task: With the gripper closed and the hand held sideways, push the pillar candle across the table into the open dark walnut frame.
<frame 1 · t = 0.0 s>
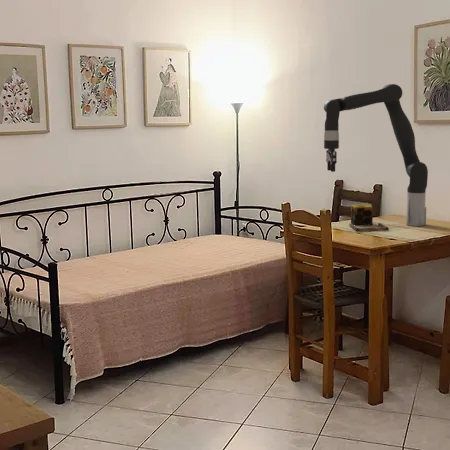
hand: (331, 171, 360), 29 cm above the table, tool pointing down, fingers open, 8 cm apart
walnut frame: (368, 228, 359), on the table
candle: (361, 224, 373), on the table
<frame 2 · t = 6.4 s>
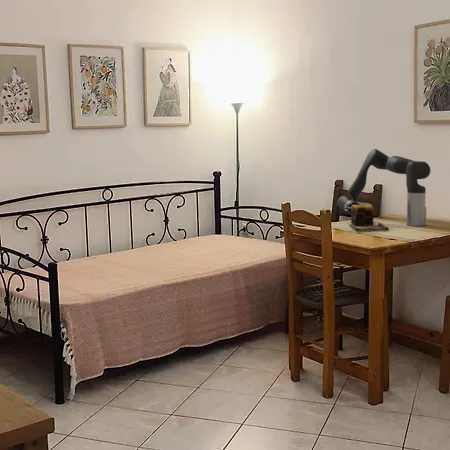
hand: (359, 211, 375), 6 cm above the table, tool horizontal, fingers closed
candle: (362, 224, 371), on the table
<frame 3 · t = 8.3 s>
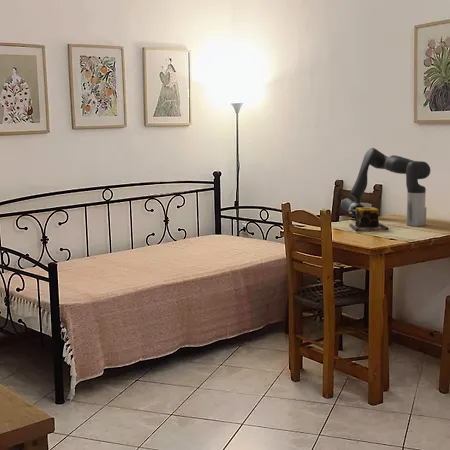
hand: (364, 214, 365), 6 cm above the table, tool horizontal, fingers closed
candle: (366, 228, 361), on the table
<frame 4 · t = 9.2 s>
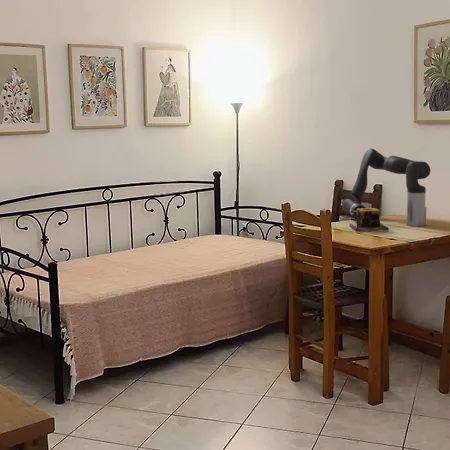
hand: (366, 215, 362), 6 cm above the table, tool horizontal, fingers closed
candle: (368, 229, 358), on the table
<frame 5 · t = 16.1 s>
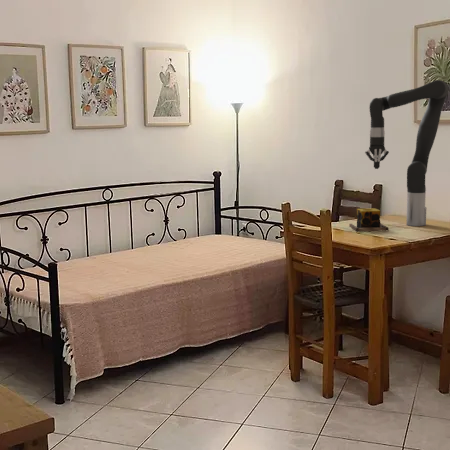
hand: (376, 168, 373), 29 cm above the table, tool pointing down, fingers closed
nothing on the table moved.
at the end: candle inside the target area on the walnut frame (0.6 cm from its centre), point 0.0 cm above the walnut frame's base; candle tilted 0°; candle moved 15.1 cm from its start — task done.
